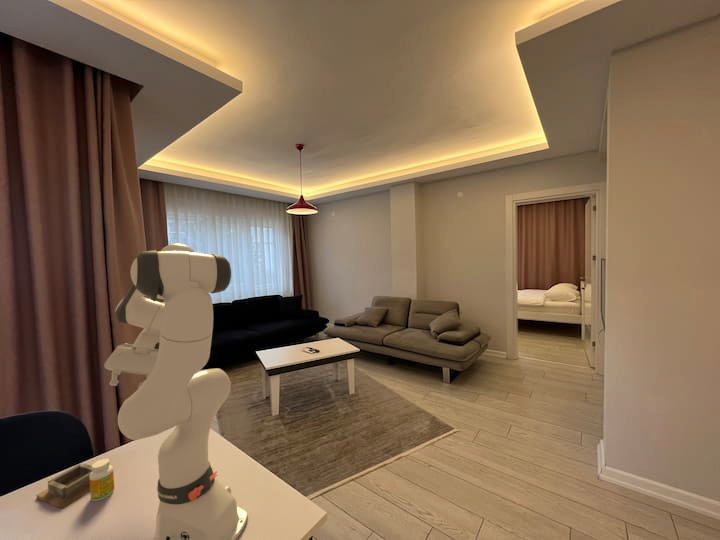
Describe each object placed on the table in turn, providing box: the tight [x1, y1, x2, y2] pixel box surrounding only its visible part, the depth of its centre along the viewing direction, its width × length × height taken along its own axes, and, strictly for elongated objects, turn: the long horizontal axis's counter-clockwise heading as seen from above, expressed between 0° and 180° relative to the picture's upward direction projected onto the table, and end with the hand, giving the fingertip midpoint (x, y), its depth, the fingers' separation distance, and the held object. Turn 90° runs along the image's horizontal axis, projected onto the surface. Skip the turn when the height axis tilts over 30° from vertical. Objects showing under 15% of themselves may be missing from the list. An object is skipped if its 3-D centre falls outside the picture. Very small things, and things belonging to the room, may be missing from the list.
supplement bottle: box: [89, 458, 115, 502], centre depth 89 cm, size 5×5×10 cm
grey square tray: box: [36, 463, 92, 509], centre depth 92 cm, size 12×12×4 cm
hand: (126, 387), depth 97 cm, fingers open, 8 cm apart
